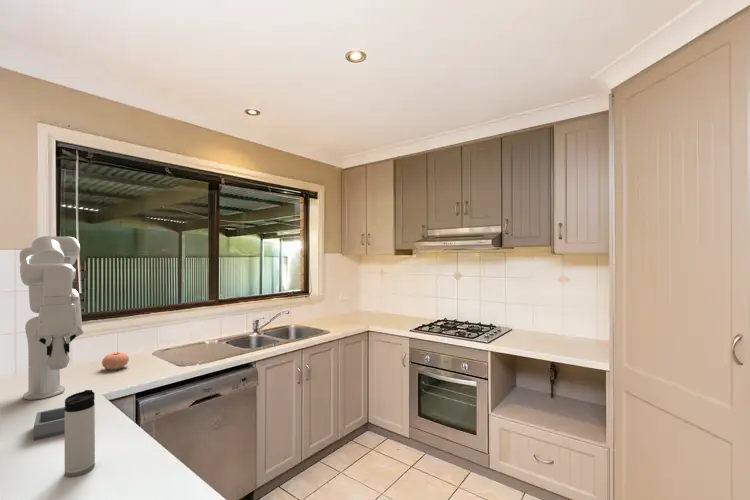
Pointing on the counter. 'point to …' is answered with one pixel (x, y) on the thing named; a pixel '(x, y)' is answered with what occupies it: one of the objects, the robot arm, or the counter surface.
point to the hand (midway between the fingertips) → (58, 355)
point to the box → (49, 423)
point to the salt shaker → (58, 353)
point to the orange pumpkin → (115, 361)
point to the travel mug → (79, 433)
